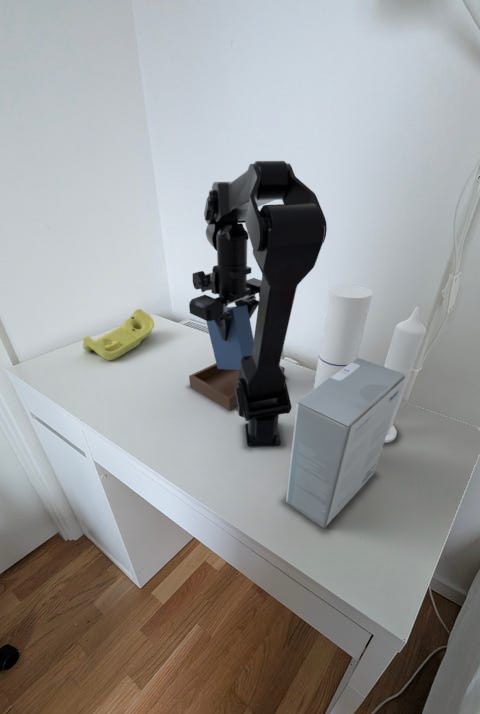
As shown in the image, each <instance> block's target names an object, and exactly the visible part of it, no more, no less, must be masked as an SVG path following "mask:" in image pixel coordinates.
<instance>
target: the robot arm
mask: <svg viewBox="0 0 480 714" xmlns="http://www.w3.org/2000/svg"><path fill="white" fill-rule="evenodd" d="M277 200H280V201H282V203H279V204H269V203H271V202H274V201H277ZM259 207H261V208H259ZM259 209H260V210H259ZM203 212H204V213H203V216H204V221H205V222H206V224H207V226H206V229H205V237H206V240H207V241H208V243H209V244H210V246H212V247H213V249H214V250H215V251H216V259H217V260H216V264H217V265H213V266H212V270H211V272H209V273H205V271H203V270H200V271H196V272H193V273H192V284H193V288H194V289H195V290H196V291H197V290H200V291H201V293H205V292H206V291H211V294H213V295H218V297H212V296H209V295H207V294H203V295H200V296H197V297H194V298H191V300H189V302H188V303H189V304H188V307H189V314H191V315H193V316H195V317H197V318H199V319H201V320H204V321H205V322H206V321H212V320H214V321H215V323H216V326H217V328H218V330H219V333H220V335H221V338H222V339H223V340H224V341H226V340H227V337H228V333H229V328H230V323H231V317H232V314H230V313H228V312H227V307H229V305H230V304H235V306H243V305H247V307H248V313H249V318H250V319H251V318H252V316H253V314H254V313H255V312H256V311H257V314H256V323H255V329H254V335H253V340H254V343H253V350H252V355H251V356H244V357H242V359H241V364H240V371H239V374H240V375H239V379H237V383H236V387H235V391H236V396H237V402H238V406H237V408H238V409H237V415H238V416H239V417H242V418H244V420H245V422H248V423H245V425H244V429H245V439H246V440H245V441H246V446H247V447H250V448H251V447H252V448H253V447H277V446H281V445H282V439H281V435H280V430H279V419H280V415H284V414H290V413H291V410H292V403H291V398H290V394H289V389H288V385H287V380H286V379H287V376H286V374H285V372H284V373H283V371H282V369H281V367H280V366H281V364H280V363H281V359H282V354H283V352H284V351H283V350H284V347H285V341H286V339H287V332H288V328H289V324H290V320H291V315H292V310H293V306H294V301H295V297H296V292H297V288H298V286H299V284H300V283H301V282H302V281H303V280H304V279H305V278H306V277H307V276H308V274H309V273H310V272H311V271H312V270H313V269H314V268H315V266H316V263H317V260H318V258H319V255H320V253H321V249H322V247H323V244H324V243H325V240H326V236H327V231H328V230H327V229H328V228H327V226H328V225H327V219H326V215H325V214H324V211H323V209H322V207H321V204H320V202H319V199H318V197H317V195H316V193H315V192H314V191H313V190H312V189H310V187H308V186H307V185H306V184H305V183H304V182H302V181H301V180H300V179H299V178H298V177H297V176H296V175H295V172H294V170H293V167H292V165H291V164H290V163H288V162H286V161H285V160H256V161H254V162H253V163H250V164H249V165H248V168H247V170H245V172H243V173H241V174H240V175H239V176H238V177H236V178H235V179H234V180H232V181H214V182H213V183H212V185H211V189H209V191H208V195H207V198H206V200H205V207H204V211H203ZM244 225H245V226H244ZM245 228H246V229H245ZM248 240H250V244H251V247H252V255H253V257H254V259H255V261H256V264H257V266H258V268H259V270H260V272H261V279H259V278H256V277H252V278H249V279H248V278H247V277H248V275H250V274H252V267H250V266H248ZM256 294H258V297H259V298H258V300H257V297H256Z"/></svg>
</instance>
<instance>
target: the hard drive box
mask: <svg viewBox="0 0 480 714" xmlns="http://www.w3.org/2000/svg"><path fill="white" fill-rule="evenodd" d="M404 379H405V374H402V373H399V372H397V371H394V370H391V369H388V368H385V367H384V366H382V365H379V364H377V363H374V362H371V361H368V360H366V359H363V358H359V357H357V359H355V360H354V361H353V362H351V363H350V364H348V365H347V366H345V367H344V368H343V369H341V370H340V371H338V372H337V373H336V374H334V375H333V376H331V377H330V378H329V379H328V380H326V381H325V382H323V383H322V384H321V385H319V386H318V387H316V388H315V389H314V388H313V389H312V390H310V391H309V392H308V393H307V394H305V395H304V396H302V397H301V398H300V399H298V400H297V401H296V407H295V414H294V415H295V417H294V425H293V433H292V442H291V443H292V444H291V451H290V452H291V453H290V461H289V470H288V477H287V478H288V479H287V489H286V499H285V502H286V503H287V504H288V505H289V506H291V507H292V508H294V509H295V510H297V511H298V512H299V513H301V514H302V515H304V516H305V517H307V518H308V519H310V520H311V521H312V522H314V523H315V524H317V525H318V526H319V527H321V528H323V529H325V528H327V526H328V525H329V524H330V523H331V521H333V520H334V518H335V517H336V516H337V515H338V514H339V513H340V512H341V511H342V509H343V508H345V506H346V505H347V504H348V503H349V502H350V501H351V500H352V498H354V496H355V495H356V494H357V493H358V492H359V491H360V490H361V489H362V488H363V486H365V484H367V482H368V481H369V480H370V478H372V476H374V473H375V471H376V468H377V466H378V462H379V459H380V456H381V452H382V450H383V447H384V444H385V443H384V441H385V438H386V434H387V431H388V428H389V425H390V422H391V419H392V416H393V413H394V410H395V407H396V404H397V401H398V398H399V395H400V392H401V389H402V386H403V383H404Z"/></svg>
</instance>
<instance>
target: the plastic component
mask: <svg viewBox="0 0 480 714" xmlns="http://www.w3.org/2000/svg"><path fill="white" fill-rule="evenodd" d="M122 323H123V324H122V325H120V326H118V327H116V328H115V329H113V330H111V331H109V332H108V333H105V334H104V335H101V336H100V337H98V338H97V339H92V338H91V337H90V336H88V335H86V336H84V337H83V342H82V343H83V344H82V349H83V350H84V351H86V352H91V351H94V352H95V353H96V354H97V355H98V356H100V357H101V358H102V359H103V360H106V361H115V360H117V359H118V358H119V357H121V356H123V355H125V354H126V353H128V352H129V351H131V350H133V349H134V348H136V347H137V346H140V345H141V343H142V341H143V340H144V339H146V338H147V337H148V336H149V335H150V334H151V333H152V331H153V330H154V328H155V321H154V319H153V318H152V317H151V315H149V314H148V313H147V312H145V311H144V310H143V309H141V308H137V309H135V311H134V312H133V313H132V315H131V316H129V318H126V319H125V320H124V321H123V322H122Z"/></svg>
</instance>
